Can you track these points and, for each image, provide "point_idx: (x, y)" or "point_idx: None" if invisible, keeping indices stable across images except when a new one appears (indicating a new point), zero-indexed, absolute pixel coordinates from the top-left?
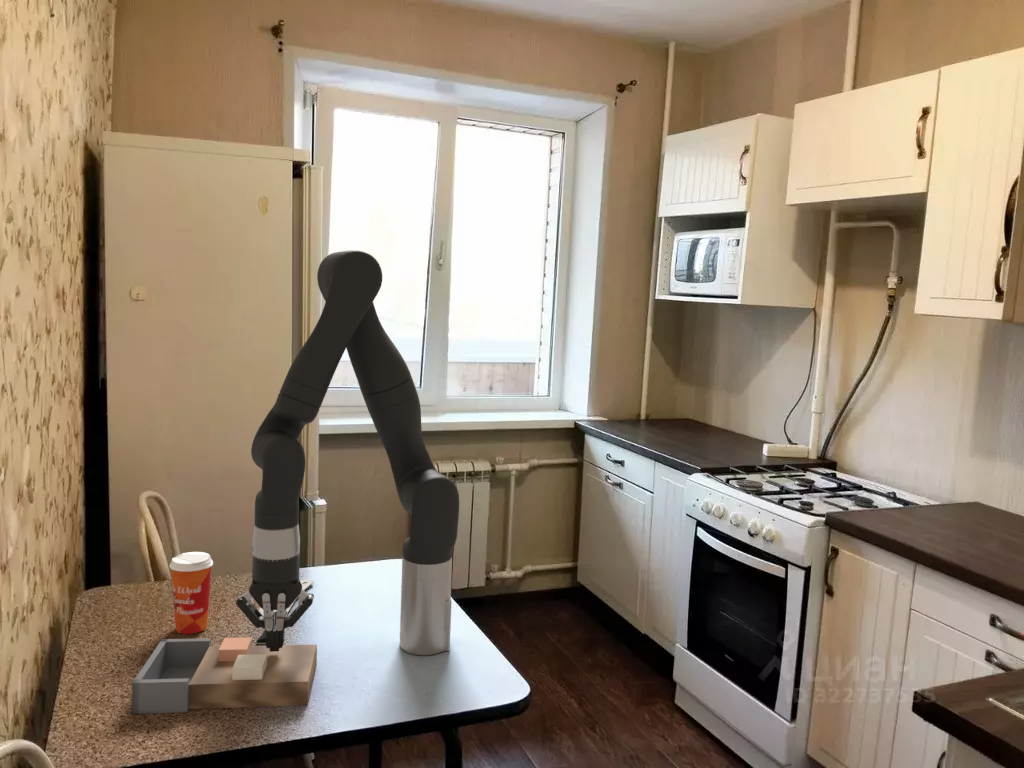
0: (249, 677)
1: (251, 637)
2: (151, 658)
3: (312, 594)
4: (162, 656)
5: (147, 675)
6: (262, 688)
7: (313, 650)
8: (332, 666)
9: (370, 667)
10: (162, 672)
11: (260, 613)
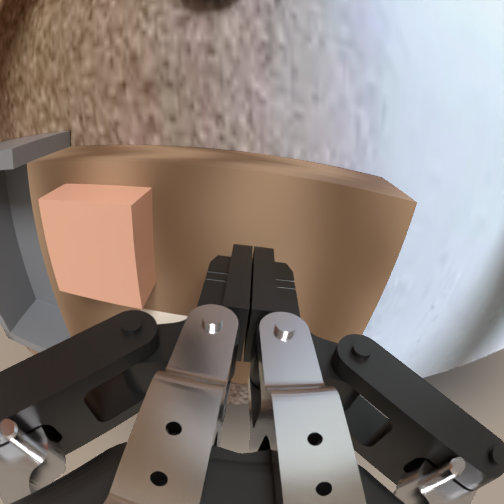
0: None
1: (128, 206)
2: None
3: (499, 471)
4: None
5: (2, 298)
6: None
7: (394, 247)
8: (419, 189)
9: (481, 220)
10: (4, 184)
11: (120, 364)
